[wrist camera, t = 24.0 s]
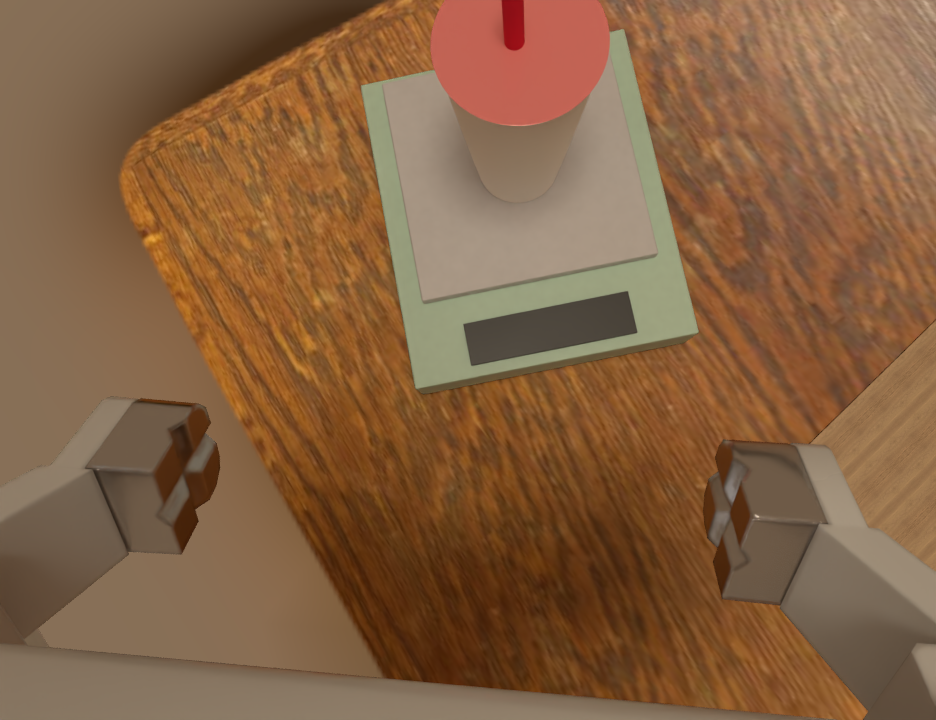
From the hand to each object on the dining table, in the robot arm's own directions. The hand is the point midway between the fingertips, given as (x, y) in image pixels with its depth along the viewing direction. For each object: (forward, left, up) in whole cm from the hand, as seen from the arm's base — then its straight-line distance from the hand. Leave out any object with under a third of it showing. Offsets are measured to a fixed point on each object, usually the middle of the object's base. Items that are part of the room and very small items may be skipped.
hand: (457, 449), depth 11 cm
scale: (+3, +10, -20) cm, 23 cm away
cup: (+3, +12, -17) cm, 21 cm away
